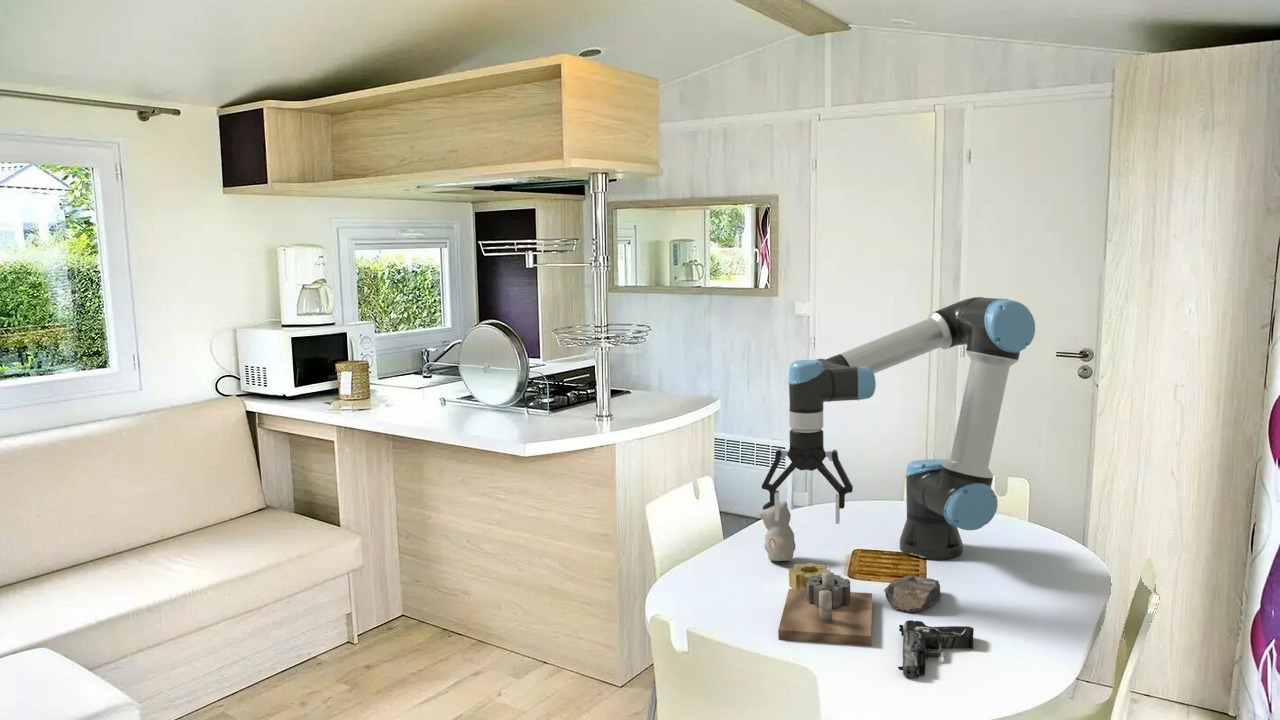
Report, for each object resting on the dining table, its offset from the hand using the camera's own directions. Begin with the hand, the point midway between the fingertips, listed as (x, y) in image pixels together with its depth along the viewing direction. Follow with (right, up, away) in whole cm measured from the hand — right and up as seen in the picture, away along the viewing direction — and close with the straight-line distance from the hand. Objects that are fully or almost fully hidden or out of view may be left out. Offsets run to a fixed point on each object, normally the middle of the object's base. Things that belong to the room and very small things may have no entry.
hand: (807, 520), depth 206 cm
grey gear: (+2, -15, -12) cm, 19 cm away
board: (+1, -18, -17) cm, 24 cm away
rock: (+21, -16, -9) cm, 28 cm away
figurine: (-4, -14, +20) cm, 24 cm away
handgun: (+18, -20, -35) cm, 44 cm away
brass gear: (+1, -16, +2) cm, 16 cm away
